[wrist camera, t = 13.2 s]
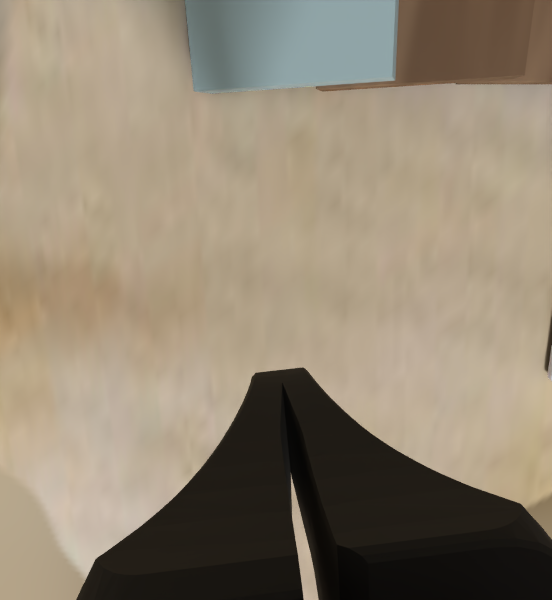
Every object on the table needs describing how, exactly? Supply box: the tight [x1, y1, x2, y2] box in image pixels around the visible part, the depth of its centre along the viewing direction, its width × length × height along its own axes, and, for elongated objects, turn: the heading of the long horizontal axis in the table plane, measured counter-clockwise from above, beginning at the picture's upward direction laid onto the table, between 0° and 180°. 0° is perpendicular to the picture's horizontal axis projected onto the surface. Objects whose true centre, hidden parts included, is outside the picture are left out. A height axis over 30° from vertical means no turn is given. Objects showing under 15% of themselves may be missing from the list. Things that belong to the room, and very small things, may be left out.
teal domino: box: [185, 0, 399, 94], centre depth 16 cm, size 2×4×7 cm
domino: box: [316, 0, 535, 91], centre depth 16 cm, size 2×4×7 cm
